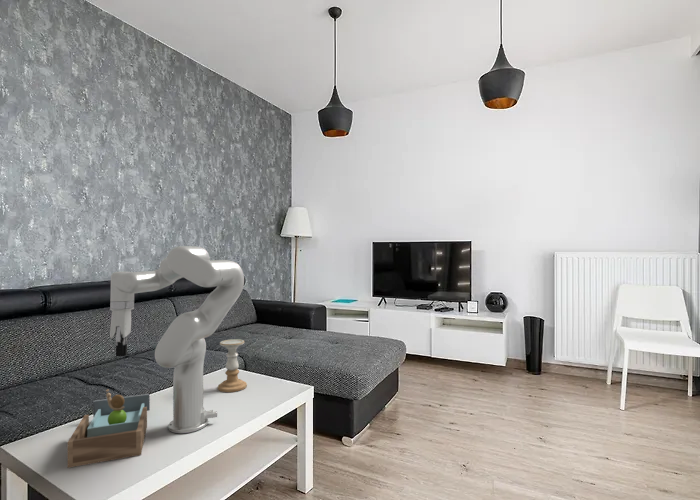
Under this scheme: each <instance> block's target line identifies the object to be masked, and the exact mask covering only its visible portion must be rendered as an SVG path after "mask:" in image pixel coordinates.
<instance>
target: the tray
mask: <svg viewBox="0 0 700 500" xmlns="http://www.w3.org/2000/svg"><path fill="white" fill-rule="evenodd" d="M123 397H124V400H125V402H124V405H123V406H122V407H124V409H123V410H124V411H125V412H126V415H127V418H126V421H125V422H124V423H118V424H111V425H109V423H108V416H109V414H110V413H111V412H112V411H114V410H113V409H111V408H110V407H109V405H108V401H107V398H104V399H96V400H93V402H92V403H93V417H92V420H91V421H90V422H89V427H88V428H87V438H88V437H94V436H101V435H107V434H114V433H120V432H127V431H133V430H137V427H138V424H139V420H140V416H141V413H142V409H143V407H147V412H149V411H150V408H151V407H150V405H151V404H150V403H151V402H150V401H151V399H150V397H151V396H150V393H144V394H136V395H135V394H134V395H130V396H129V395H128V396H123ZM112 398H113V397H111V400H112Z"/></svg>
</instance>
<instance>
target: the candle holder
mask: <svg viewBox="0 0 700 500" xmlns="http://www.w3.org/2000/svg"><path fill="white" fill-rule="evenodd" d="M244 344H245V340H243V339H240V338H239V339H237V338H235V339H234V338H233V339H224V340H221V341H220V342H219V345H220V346H221V347H223V348H224V347H225V349H227V351H228V352H227V353H226V355H225V356H226V358H227V361H226V364H225V369H226V371H225V375H226V380H223V381H222V382H220V383H219V384H218V386H217V390H218V391H219V392H221V393H235V392H236V391H237V392H240V390H241V391H243V390H246V388H247V386H248V384H247V382H246V381H244V380H242V379H241V378H239V377H238V375H239V373H240V370H239V366H240V365H239V361H238V356H239V353H238V352H237V349H238V348H239V347H241V346H242V345H244Z"/></svg>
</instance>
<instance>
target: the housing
mask: <svg viewBox="0 0 700 500" xmlns="http://www.w3.org/2000/svg"><path fill="white" fill-rule="evenodd" d="M89 425H90V414H85V415H83V417H82V418H81V420H80V421H79V423H78V425H77V426H76V428H75V429H74V431H73V433H72V435H71V436H70V438H69V439H68V441H67V468H69V469H70V468H73V467H80V466H85V465H90V464H92V465H93V464H96V463H101V462H103V463H104V462H109V461H114V460H119V459H125V458H132V457H137V456H142V452H143V448H144V442H145V439H146V438H145V437H146V432H147V429H148V411H147V407H143V409H142V413H141V416H140V420H139V424H138V427H137V430H133V431H127V432H120V433H114V434H107V435H101V436H94V437H88V438H87V428H88V427H89Z"/></svg>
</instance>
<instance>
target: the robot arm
mask: <svg viewBox="0 0 700 500" xmlns="http://www.w3.org/2000/svg"><path fill="white" fill-rule="evenodd" d="M210 258H211V257H210V253H209V252H208V251H207V249H206V248H203V247H201V246H199V245H198V246H197V245H196V246H195V245H194V246H193V245H190V246H189V245H180V246H179V245H178V246H175V247H173V248H172V249H171V250H169V252H168V253H167V256H166V257H165V258H163V259H162V260H161V261H160V263H159V268H158V269H157V268H156V269H155V270H154V269H153V270H146V271H145V270H143V271H127V270H126V271H123V270H122V271H114V272H112V273H111V275H110V304H109V305H110V307H109V310H110V311H112V312H111V318H110V329H109V331H110V332H109V338H110V339H114V338H115V357H126V356H127V355H128V336H129V335H130V334H131V332H132V331H131V330H132V310H134V309H135V294H138V293H140V294H141V293H147V292H149V293H150V292H155V291H159V290H162V289H164V288H166V287H169V286H171V285H173V284H174V283H175V282H176V281H178V280H180V279H186V280H187V281H189V282H191V283H192V284H194V285H197V286H199V287H201V288H202V287H203V288H215V287H216V288H215V289H213V291H211V292H210V293H209V294H208V295H207V297H206V298H205V300H204V301H203V302H202V304H201V305H200V306H199V307H198V308H197V309H195V310H193V311H192V310H191V311H187V312H184V313H181V314H179V315H178V316H177V317H175V318H174V319H173V321H172V322H171V323H170V325H169V326H168V328H167V329H166V331H165V332H164V333H163V335H162V336H161V337H160V339H159V341H158V343H156V347H155V349H154V359H155V362H156V364H157V365H158V366H160V368H161V367H162V368H164V369H171V368H172V369H173V368H174V369H173V376H172V377H173V379H172V380H173V382H172V384H173V385H172V390H173V391H172V392H173V393H172V395H173V396H172V401H173V403H172V404H173V405H172V412H173V413H172V414H173V416H172V421H170V422H169V423H168V425H167V427H168V429H167V430H169V431H170V432H171V433H174V434H175V433H176V434H186V433H187V434H188V433H193V432H196V431H199V430H202V429H203V428H205V427H206V426H207V425H208V424H209V419H215V418H218V411H214V410H213V409H211V410H205V407H204V363H205V357H206V352H207V343H206V340H205V338H208V337H211V336H212V335H213V334H214V333H215V332H216V330H217V329H218V328H219V326H220V325H221V323H222V322H223V320H224V319H225V317H227V315H228V312H230V310H231V308H232V307H233V306H234V305H235V303H237V302H236V301H238V298H240V296H241V294H242V292H243V290H244V286H245V274H244V271H243V268H242V267H241V266H240V264H238V262H235V261H233V260H229V259H215V260H213V259H212V260H210Z"/></svg>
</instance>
